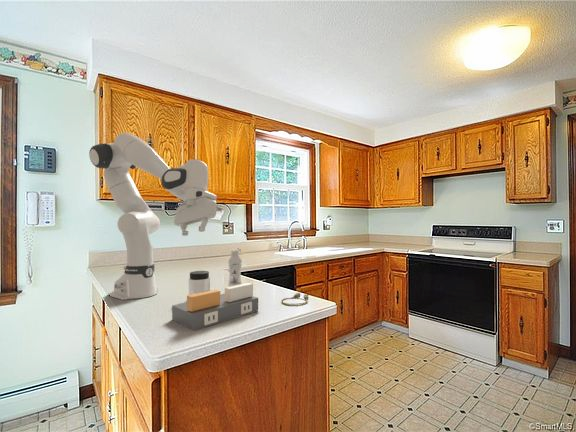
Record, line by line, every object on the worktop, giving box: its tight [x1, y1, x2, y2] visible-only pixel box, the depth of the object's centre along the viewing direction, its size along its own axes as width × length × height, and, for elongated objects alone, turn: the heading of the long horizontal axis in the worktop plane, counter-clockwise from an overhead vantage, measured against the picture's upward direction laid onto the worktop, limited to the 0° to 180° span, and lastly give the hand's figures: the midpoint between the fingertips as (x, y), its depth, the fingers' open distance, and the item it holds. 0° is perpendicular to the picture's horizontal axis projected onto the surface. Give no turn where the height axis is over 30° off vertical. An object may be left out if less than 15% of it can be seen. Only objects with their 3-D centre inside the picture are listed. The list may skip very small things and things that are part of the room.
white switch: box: [224, 282, 254, 302], centre depth 112 cm, size 3×11×5 cm, turn 137°
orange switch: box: [186, 289, 221, 312], centre depth 101 cm, size 3×11×5 cm, turn 137°
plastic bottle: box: [227, 249, 243, 287], centre depth 142 cm, size 6×7×20 cm
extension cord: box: [281, 292, 309, 307], centre depth 127 cm, size 12×16×2 cm
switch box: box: [171, 293, 259, 331], centre depth 110 cm, size 22×27×5 cm
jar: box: [188, 270, 211, 295], centre depth 130 cm, size 9×8×12 cm
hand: (193, 233), depth 110 cm, fingers open, 8 cm apart
